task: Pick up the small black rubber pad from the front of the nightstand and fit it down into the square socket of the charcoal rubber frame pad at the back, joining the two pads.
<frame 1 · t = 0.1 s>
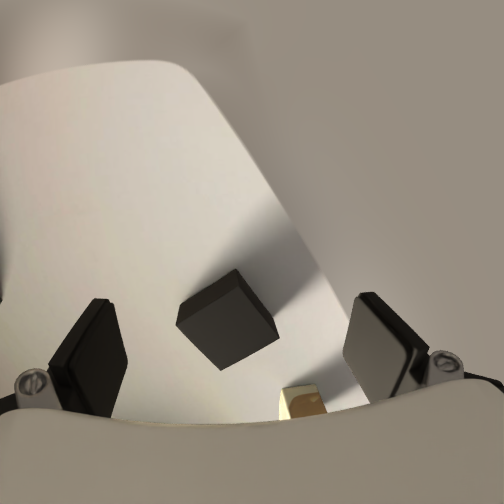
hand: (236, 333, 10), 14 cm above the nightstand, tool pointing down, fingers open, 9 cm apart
black pad: (227, 311, 25), on the nightstand
cosmetic box: (296, 399, 31), on the nightstand
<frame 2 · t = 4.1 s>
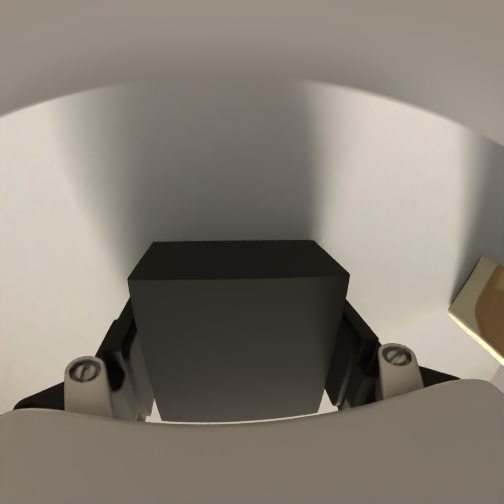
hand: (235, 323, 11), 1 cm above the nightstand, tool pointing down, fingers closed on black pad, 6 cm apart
black pad: (234, 312, 11), on the nightstand, touching gripper
cosmetic box: (476, 299, 14), on the nightstand
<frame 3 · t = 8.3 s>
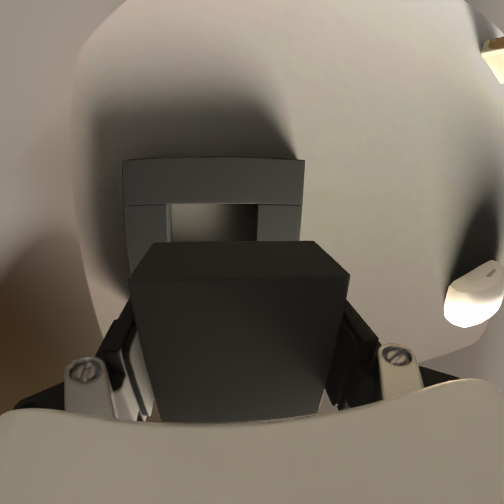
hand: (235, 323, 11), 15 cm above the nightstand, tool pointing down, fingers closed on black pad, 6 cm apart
black pad: (234, 312, 11), point 14 cm above the nightstand, touching gripper
cosmetic box: (491, 61, 21), on the nightstand
frame pad: (212, 240, 25), on the nightstand
computer mouse: (468, 287, 32), on the nightstand
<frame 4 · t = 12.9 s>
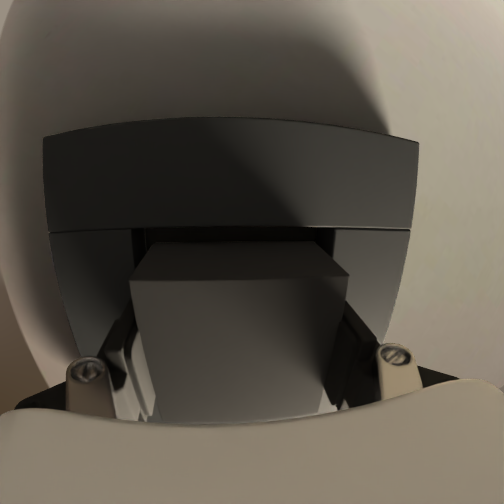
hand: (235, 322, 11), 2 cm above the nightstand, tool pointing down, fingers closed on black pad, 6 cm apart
black pad: (234, 312, 11), point 1 cm above the nightstand, touching gripper
frame pad: (231, 295, 13), on the nightstand
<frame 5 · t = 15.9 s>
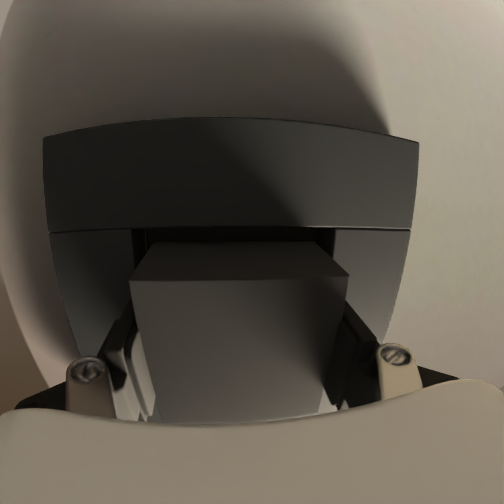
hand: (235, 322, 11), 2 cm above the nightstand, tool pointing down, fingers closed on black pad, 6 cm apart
black pad: (234, 312, 11), point 1 cm above the nightstand, touching gripper
frame pad: (231, 295, 13), on the nightstand
when the fingers open (3 cm above the nightstand, at t = 18.4 s): black pad drops 2 cm, resting in frame pad.
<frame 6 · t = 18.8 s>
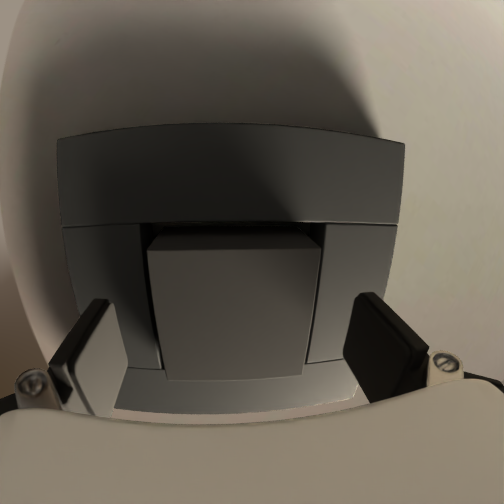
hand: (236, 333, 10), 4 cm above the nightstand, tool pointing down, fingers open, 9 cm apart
black pad: (230, 287, 14), resting in frame pad
frame pad: (231, 286, 14), on the nightstand
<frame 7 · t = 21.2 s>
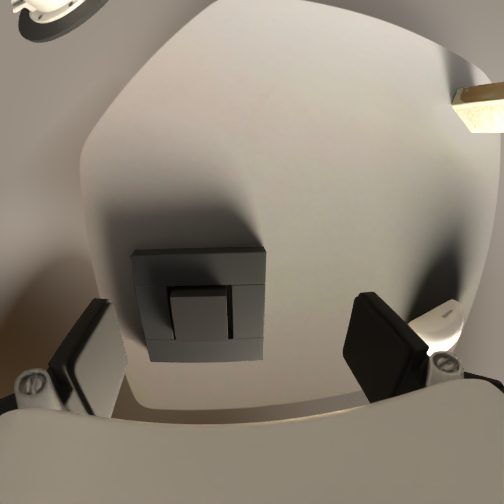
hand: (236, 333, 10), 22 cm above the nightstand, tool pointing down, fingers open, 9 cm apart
black pad: (201, 306, 34), resting in frame pad
cosmetic box: (463, 110, 29), on the nightstand
frame pad: (201, 306, 34), on the nightstand
computer mouse: (428, 323, 40), on the nightstand
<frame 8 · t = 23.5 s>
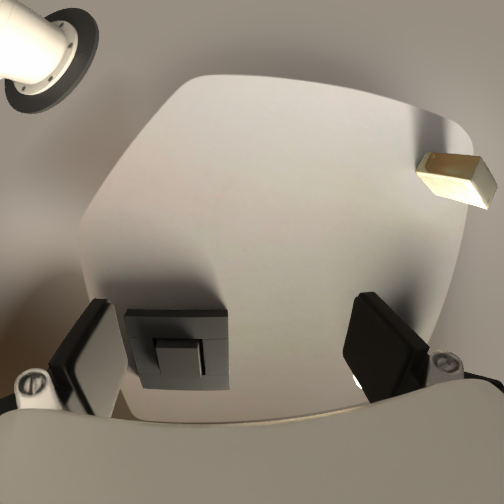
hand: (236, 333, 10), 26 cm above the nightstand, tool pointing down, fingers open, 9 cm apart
black pad: (180, 350, 41), resting in frame pad
cosmetic box: (429, 172, 36), on the nightstand
frame pad: (180, 350, 41), on the nightstand
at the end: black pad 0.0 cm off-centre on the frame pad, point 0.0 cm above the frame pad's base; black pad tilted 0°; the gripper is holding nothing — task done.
